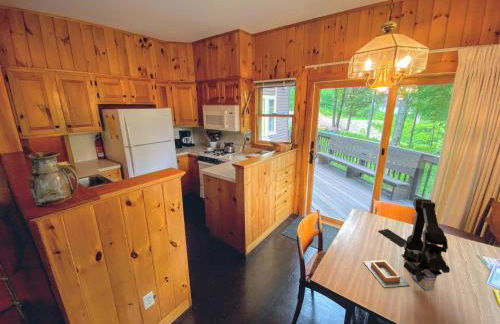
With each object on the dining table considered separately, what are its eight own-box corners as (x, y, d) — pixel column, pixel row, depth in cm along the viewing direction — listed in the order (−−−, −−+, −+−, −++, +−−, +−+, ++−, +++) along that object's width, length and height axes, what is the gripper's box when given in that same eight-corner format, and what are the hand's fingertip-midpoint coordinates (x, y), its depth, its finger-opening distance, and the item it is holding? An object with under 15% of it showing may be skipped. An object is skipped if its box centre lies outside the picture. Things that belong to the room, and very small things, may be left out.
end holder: (385, 260, 123) (386, 256, 122) (409, 285, 106) (410, 281, 105) (362, 261, 122) (363, 257, 121) (383, 287, 105) (384, 283, 104)
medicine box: (411, 278, 105) (414, 264, 103) (419, 277, 106) (422, 263, 103) (424, 291, 98) (428, 277, 96) (433, 290, 98) (437, 276, 96)
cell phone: (387, 229, 153) (387, 228, 153) (411, 245, 136) (411, 243, 136) (377, 231, 151) (378, 230, 150) (400, 247, 134) (401, 246, 134)
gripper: (432, 242, 105) (425, 267, 109) (397, 244, 104) (392, 269, 108) (454, 258, 95) (446, 284, 99) (416, 260, 93) (409, 287, 98)
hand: (422, 281), depth 101 cm, fingers closed on medicine box, 4 cm apart
